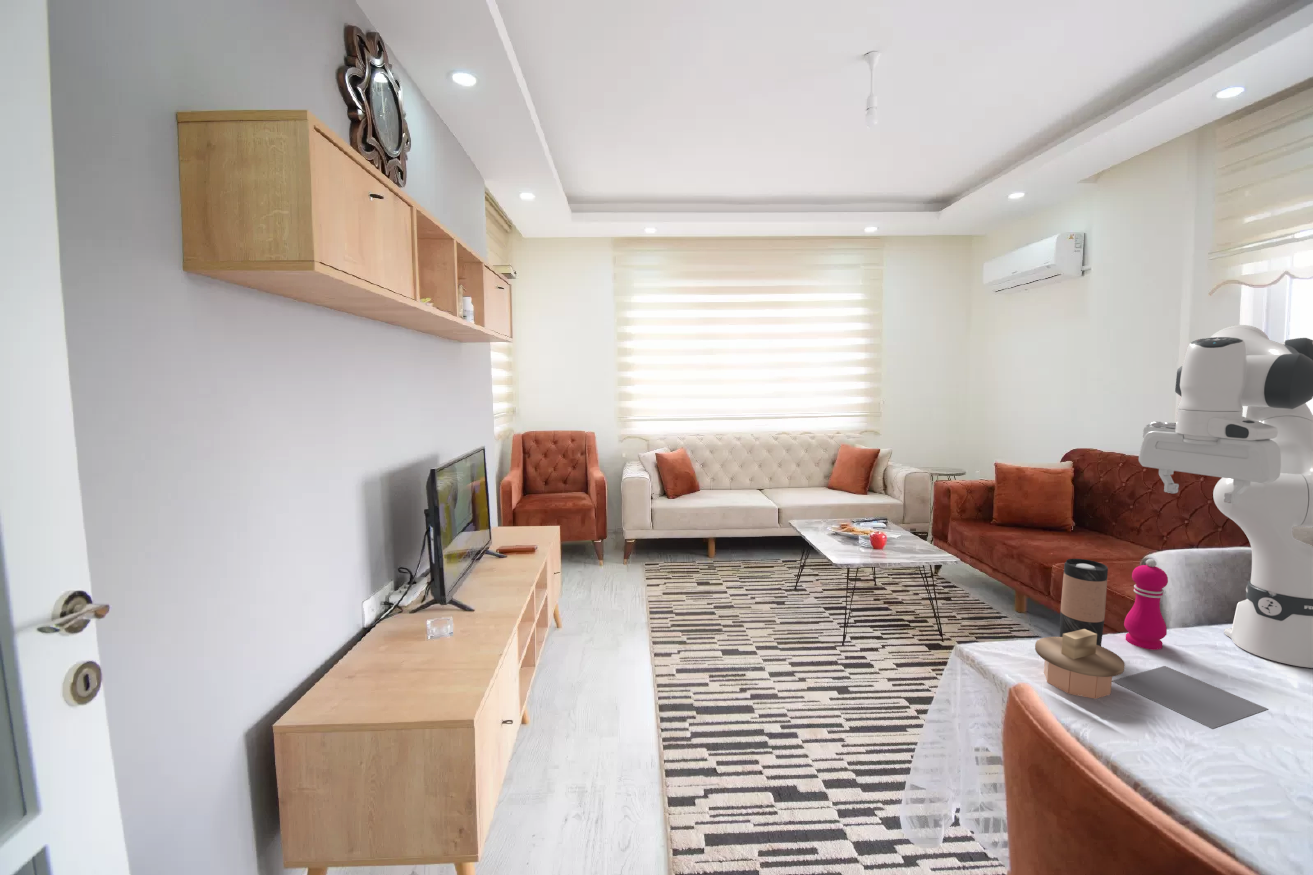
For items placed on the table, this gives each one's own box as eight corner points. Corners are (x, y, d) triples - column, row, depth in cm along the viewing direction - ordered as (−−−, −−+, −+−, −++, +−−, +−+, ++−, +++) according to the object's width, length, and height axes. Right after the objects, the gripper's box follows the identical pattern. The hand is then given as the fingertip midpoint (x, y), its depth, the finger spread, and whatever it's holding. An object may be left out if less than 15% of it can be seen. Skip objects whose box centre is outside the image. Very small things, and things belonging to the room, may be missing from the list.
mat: (1164, 669, 118) (1164, 665, 118) (1267, 713, 103) (1268, 708, 103) (1111, 684, 113) (1111, 680, 113) (1211, 733, 98) (1212, 728, 98)
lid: (1067, 635, 120) (1069, 613, 120) (1142, 668, 107) (1144, 644, 107) (1018, 647, 116) (1019, 624, 115) (1090, 682, 103) (1092, 657, 102)
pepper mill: (1173, 655, 124) (1182, 565, 121) (1134, 652, 125) (1142, 564, 123) (1151, 639, 131) (1159, 554, 128) (1115, 637, 132) (1122, 553, 130)
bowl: (1068, 669, 119) (1070, 641, 118) (1120, 694, 109) (1123, 665, 109) (1032, 678, 115) (1034, 650, 115) (1084, 705, 106) (1086, 675, 105)
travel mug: (1110, 661, 122) (1118, 570, 119) (1074, 661, 122) (1081, 570, 119) (1083, 643, 129) (1090, 558, 127) (1049, 644, 129) (1055, 558, 127)
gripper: (1134, 421, 116) (1128, 488, 118) (1269, 431, 97) (1259, 511, 99) (1154, 419, 118) (1148, 485, 120) (1290, 429, 99) (1281, 508, 101)
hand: (1199, 497), depth 109 cm, fingers open, 8 cm apart
